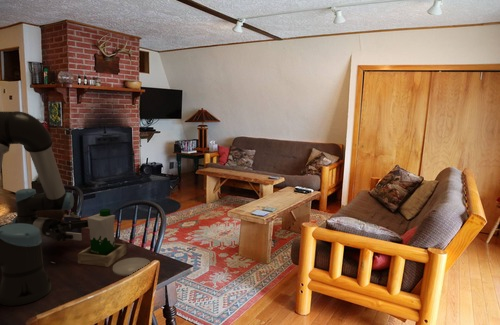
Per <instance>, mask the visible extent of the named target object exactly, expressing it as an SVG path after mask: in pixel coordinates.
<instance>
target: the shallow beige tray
mask: <svg viewBox="0 0 500 325" xmlns="http://www.w3.org/2000/svg"><path fill="white" fill-rule="evenodd" d="M127 252H128V251H127V243H117V242H115V250H114V251H113V252H111V253H110V254H108V255H107V256H105V255H96V254H91V245H90V246H89V247H87V248H85V249H83V250H82V251H80V252H78V253H77V264H81V265H82V264H83V265H91V266H98V267H106V268H108V267H110V266H111V265H114V264H115V263H116V262H118V260H119V259H121V258H122V257H123V256H125V255H126V254H128V253H127Z"/></svg>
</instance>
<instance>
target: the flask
mask: <svg viewBox="0 0 500 325" xmlns="http://www.w3.org/2000/svg"><path fill="white" fill-rule="evenodd" d="M68 220H72V221H74V220H82V219H81V216H79V215H76V214H75V212H73V211H72V212H70V213H69V214H64V216H63V222H66V223H67V221H68ZM70 228H71V227H70ZM66 232H72V233H82V228H77V229H73V230H71V231H66ZM66 232H65V234H66ZM82 234H83V233H82Z"/></svg>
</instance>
